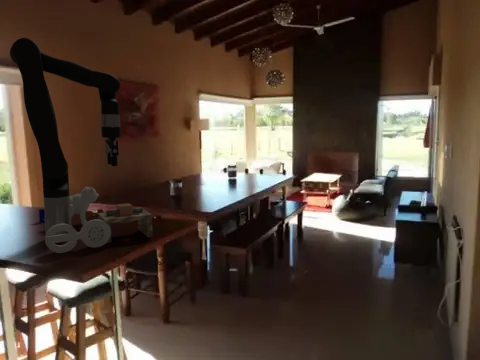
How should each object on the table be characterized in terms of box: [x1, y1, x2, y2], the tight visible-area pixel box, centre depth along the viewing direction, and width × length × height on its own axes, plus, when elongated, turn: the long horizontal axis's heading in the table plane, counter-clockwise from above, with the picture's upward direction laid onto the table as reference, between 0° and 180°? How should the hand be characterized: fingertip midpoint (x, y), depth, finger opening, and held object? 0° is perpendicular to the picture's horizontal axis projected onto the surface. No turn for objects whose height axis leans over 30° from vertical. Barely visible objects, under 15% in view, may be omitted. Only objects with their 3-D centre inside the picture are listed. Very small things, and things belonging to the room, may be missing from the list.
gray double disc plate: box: [44, 218, 112, 254], centre depth 146 cm, size 22×2×10 cm, turn 123°
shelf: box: [97, 206, 154, 244], centre depth 164 cm, size 18×14×11 cm
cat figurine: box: [43, 186, 101, 227], centre depth 182 cm, size 25×10×17 cm, turn 129°
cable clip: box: [38, 208, 45, 223], centre depth 195 cm, size 12×4×6 cm, turn 176°
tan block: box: [116, 202, 134, 224], centre depth 164 cm, size 5×6×7 cm
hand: (112, 165), depth 170 cm, fingers open, 8 cm apart
